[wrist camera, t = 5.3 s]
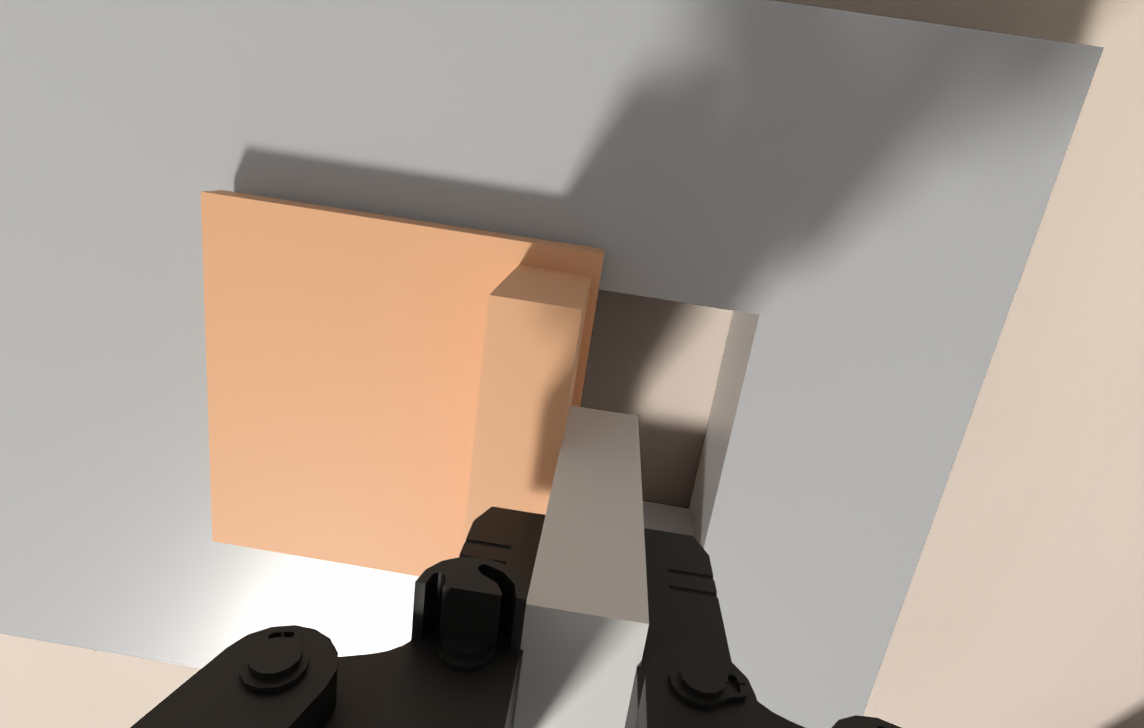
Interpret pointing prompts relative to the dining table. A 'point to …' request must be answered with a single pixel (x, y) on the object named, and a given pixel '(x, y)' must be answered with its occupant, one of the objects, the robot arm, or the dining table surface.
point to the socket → (536, 210)
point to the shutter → (383, 377)
